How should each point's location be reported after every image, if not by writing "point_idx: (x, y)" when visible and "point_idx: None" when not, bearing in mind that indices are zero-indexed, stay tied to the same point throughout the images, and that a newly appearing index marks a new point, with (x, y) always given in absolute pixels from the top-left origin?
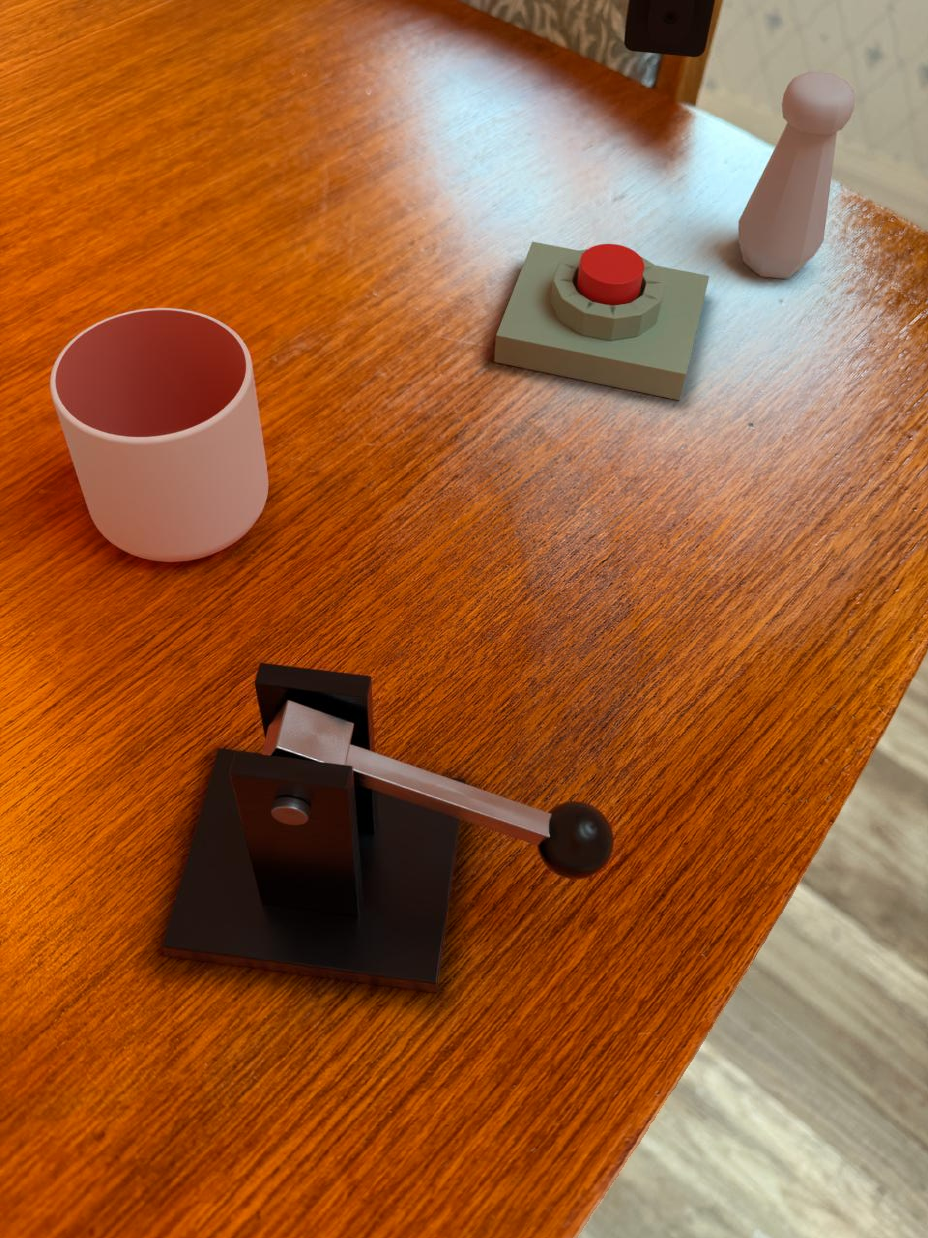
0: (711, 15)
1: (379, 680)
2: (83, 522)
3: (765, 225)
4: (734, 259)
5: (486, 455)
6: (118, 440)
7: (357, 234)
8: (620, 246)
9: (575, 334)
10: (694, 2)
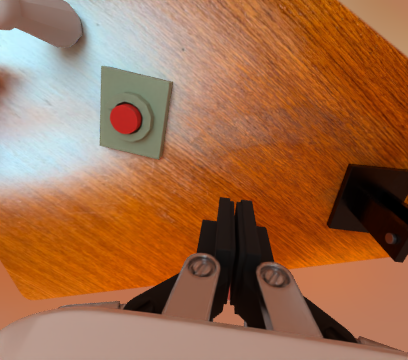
0: (254, 216)
1: (304, 187)
2: None
3: (66, 35)
4: (73, 47)
5: (209, 157)
6: None
7: (104, 201)
8: (111, 115)
9: (153, 129)
10: (269, 244)
